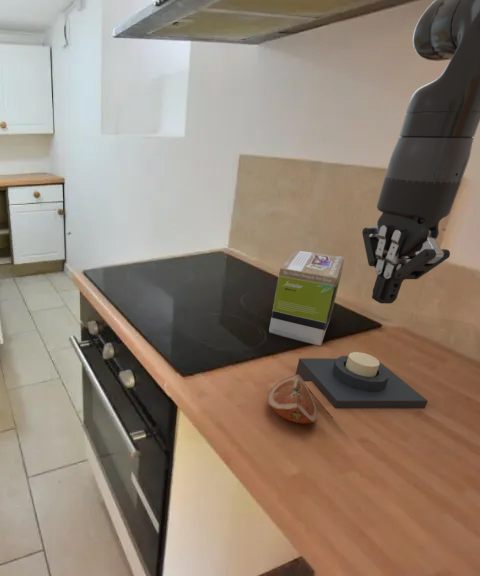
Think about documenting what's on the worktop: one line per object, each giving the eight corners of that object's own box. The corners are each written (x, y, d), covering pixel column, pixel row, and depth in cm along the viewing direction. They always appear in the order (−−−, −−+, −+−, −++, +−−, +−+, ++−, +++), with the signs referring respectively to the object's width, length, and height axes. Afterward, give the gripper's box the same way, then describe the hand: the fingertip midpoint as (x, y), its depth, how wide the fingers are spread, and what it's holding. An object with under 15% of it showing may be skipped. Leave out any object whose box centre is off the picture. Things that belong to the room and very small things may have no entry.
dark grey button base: (370, 373, 66) (378, 349, 64) (420, 418, 55) (432, 390, 54) (295, 374, 66) (301, 349, 64) (332, 418, 55) (340, 390, 54)
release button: (364, 362, 61) (368, 351, 60) (382, 377, 57) (386, 366, 56) (339, 362, 61) (343, 351, 60) (355, 377, 57) (359, 366, 56)
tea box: (282, 308, 90) (294, 248, 84) (330, 319, 85) (347, 256, 79) (266, 333, 79) (279, 265, 73) (321, 348, 73) (340, 276, 68)
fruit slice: (315, 443, 51) (323, 413, 49) (261, 426, 54) (267, 398, 52) (315, 406, 58) (322, 379, 56) (267, 393, 61) (273, 367, 59)
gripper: (504, 182, 42) (447, 323, 48) (411, 171, 54) (376, 284, 60) (436, 182, 41) (388, 322, 48) (358, 170, 54) (329, 284, 60)
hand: (382, 301), depth 54 cm, fingers closed
